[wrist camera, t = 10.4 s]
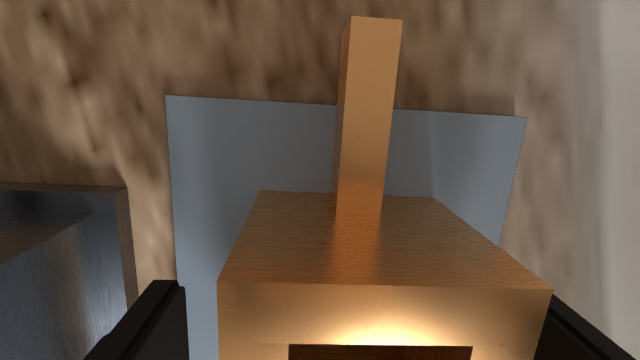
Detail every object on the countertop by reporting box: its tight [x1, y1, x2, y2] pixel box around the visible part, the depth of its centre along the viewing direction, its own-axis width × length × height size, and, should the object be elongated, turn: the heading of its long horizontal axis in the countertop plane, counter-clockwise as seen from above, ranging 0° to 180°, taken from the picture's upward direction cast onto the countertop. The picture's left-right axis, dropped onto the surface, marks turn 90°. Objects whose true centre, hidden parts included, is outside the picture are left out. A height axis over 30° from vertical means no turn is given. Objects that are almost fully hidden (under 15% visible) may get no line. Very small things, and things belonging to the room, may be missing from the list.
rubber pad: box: [165, 95, 528, 360], centre depth 12 cm, size 12×12×1 cm
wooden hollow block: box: [216, 16, 553, 360], centre depth 8 cm, size 6×11×6 cm, turn 176°
